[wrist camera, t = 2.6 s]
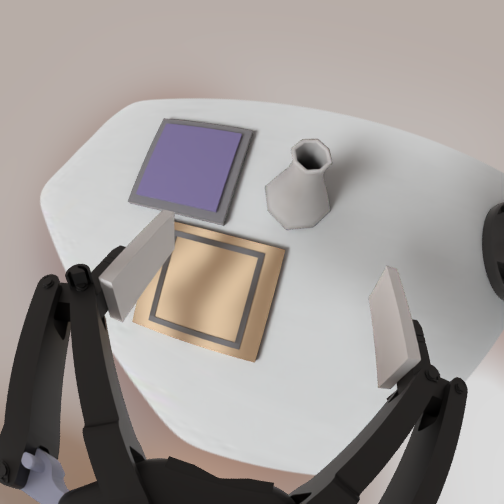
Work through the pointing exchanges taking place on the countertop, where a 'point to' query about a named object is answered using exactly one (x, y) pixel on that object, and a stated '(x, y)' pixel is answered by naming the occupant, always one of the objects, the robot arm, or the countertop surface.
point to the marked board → (212, 292)
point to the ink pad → (192, 169)
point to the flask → (301, 187)
